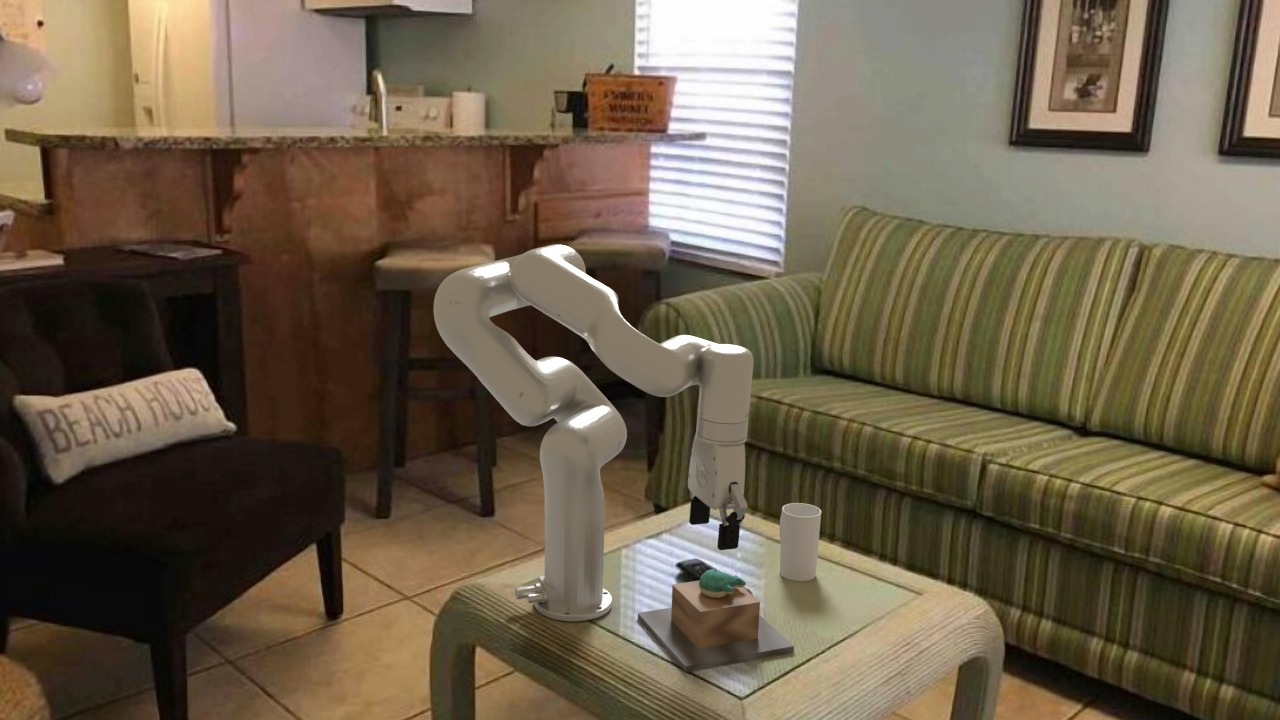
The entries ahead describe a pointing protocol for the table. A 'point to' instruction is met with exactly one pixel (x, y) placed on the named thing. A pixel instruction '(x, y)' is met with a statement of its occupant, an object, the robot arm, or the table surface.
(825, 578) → the table surface
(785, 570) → the mug
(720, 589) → the whale figurine
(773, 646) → the display plinth
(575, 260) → the robot arm
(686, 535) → the table surface
